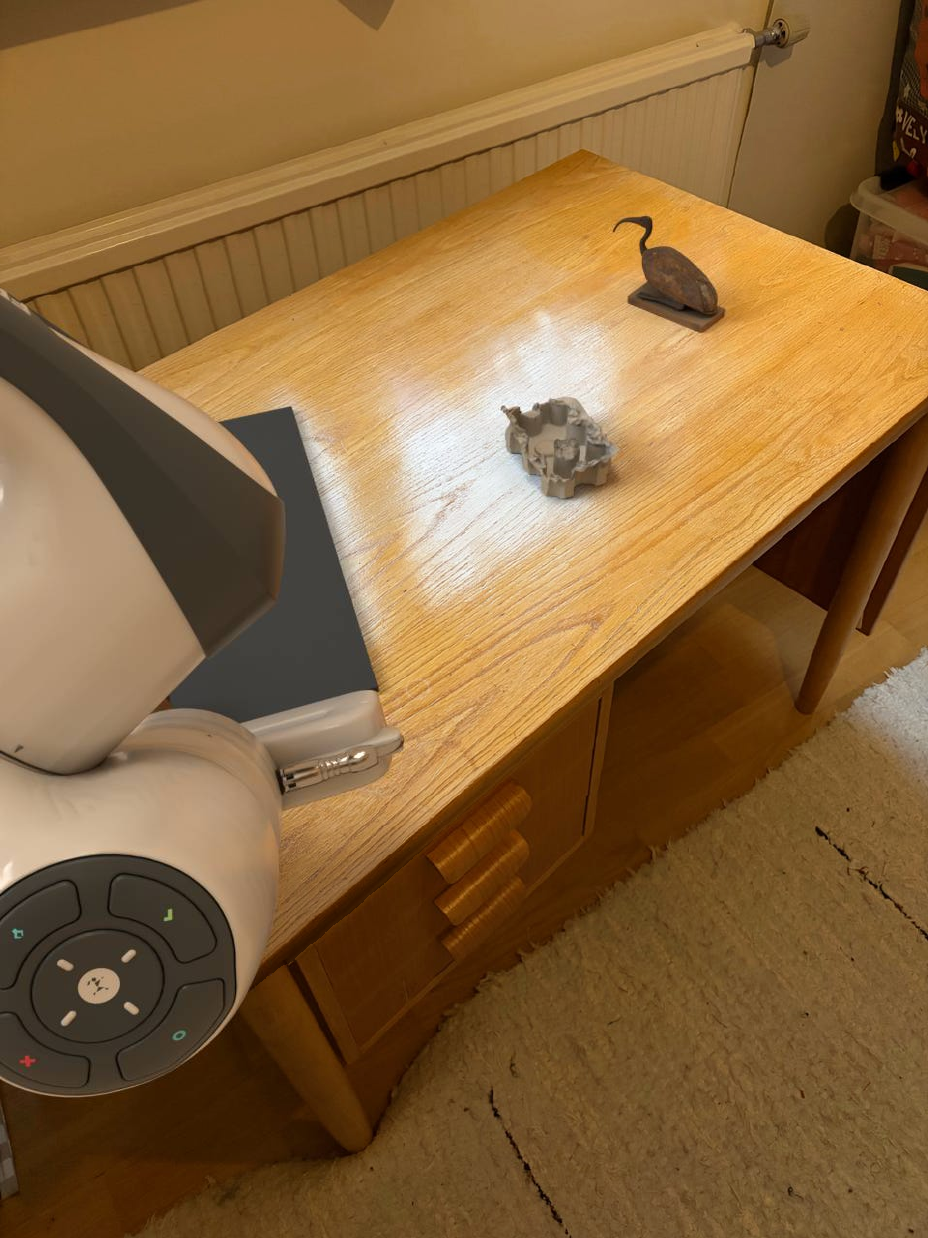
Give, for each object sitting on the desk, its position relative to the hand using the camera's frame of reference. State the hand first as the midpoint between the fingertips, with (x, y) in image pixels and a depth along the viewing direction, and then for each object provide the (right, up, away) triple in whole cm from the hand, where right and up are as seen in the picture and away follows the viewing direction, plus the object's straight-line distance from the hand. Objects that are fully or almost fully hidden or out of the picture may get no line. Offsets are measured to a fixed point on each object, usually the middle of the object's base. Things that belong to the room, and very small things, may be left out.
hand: (210, 748), depth 52 cm
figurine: (+37, +43, +46) cm, 73 cm away
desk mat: (-6, +13, +23) cm, 27 cm away
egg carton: (+24, +22, +29) cm, 44 cm away
